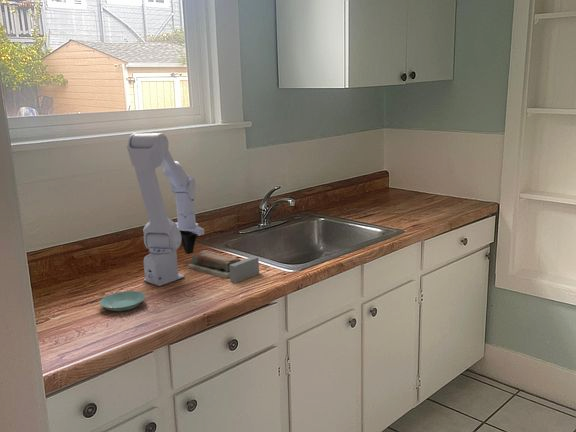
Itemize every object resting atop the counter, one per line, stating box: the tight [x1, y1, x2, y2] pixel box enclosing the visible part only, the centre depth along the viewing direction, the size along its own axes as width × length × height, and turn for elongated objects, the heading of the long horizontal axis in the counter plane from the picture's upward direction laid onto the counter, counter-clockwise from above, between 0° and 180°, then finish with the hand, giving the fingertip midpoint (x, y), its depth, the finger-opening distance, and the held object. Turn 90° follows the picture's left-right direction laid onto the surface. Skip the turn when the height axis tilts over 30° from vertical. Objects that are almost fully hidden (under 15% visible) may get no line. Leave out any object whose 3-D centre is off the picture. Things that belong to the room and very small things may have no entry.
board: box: [229, 256, 260, 283], centre depth 173 cm, size 10×2×5 cm, turn 138°
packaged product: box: [187, 249, 242, 279], centre depth 182 cm, size 18×5×10 cm
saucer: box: [99, 290, 147, 312], centre depth 156 cm, size 12×12×2 cm
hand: (189, 253), depth 190 cm, fingers closed
